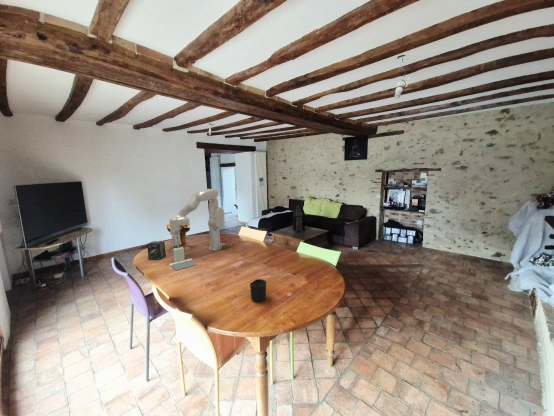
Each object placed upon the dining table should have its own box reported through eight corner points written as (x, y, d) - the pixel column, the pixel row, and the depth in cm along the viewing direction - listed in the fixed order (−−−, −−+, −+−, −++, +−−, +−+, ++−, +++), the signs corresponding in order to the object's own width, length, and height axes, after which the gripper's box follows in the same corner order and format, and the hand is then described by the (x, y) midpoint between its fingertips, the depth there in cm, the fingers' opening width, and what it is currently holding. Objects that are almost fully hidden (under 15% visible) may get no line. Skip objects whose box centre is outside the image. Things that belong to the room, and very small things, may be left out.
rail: (191, 260, 195) (191, 258, 195) (192, 260, 194) (192, 259, 194) (169, 265, 184) (169, 264, 184) (170, 266, 182) (170, 264, 182)
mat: (191, 261, 193) (191, 260, 193) (196, 265, 184) (196, 264, 184) (171, 266, 183) (171, 265, 183) (176, 270, 174) (175, 270, 174)
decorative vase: (188, 252, 214) (185, 223, 210) (164, 253, 214) (160, 225, 210) (196, 245, 234) (193, 219, 230) (175, 246, 235) (171, 220, 231)
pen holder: (267, 301, 130) (267, 285, 129) (251, 304, 128) (250, 287, 127) (265, 293, 139) (264, 278, 138) (249, 295, 137) (249, 280, 136)
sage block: (182, 259, 196) (181, 246, 194) (184, 261, 193) (183, 248, 190) (174, 261, 192) (173, 248, 190) (176, 263, 188) (175, 250, 186)
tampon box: (166, 256, 206) (164, 240, 204) (160, 260, 197) (158, 243, 195) (155, 255, 207) (153, 240, 205) (148, 259, 198) (146, 243, 196)
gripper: (182, 233, 189) (184, 254, 192) (177, 229, 200) (178, 249, 203) (173, 234, 184) (174, 256, 187) (168, 231, 196) (169, 251, 198)
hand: (176, 252), depth 195 cm, fingers closed
